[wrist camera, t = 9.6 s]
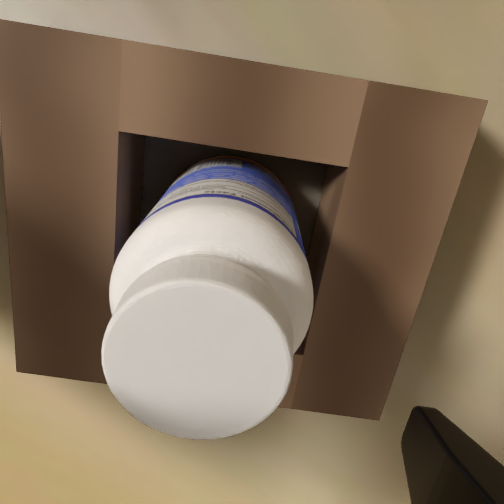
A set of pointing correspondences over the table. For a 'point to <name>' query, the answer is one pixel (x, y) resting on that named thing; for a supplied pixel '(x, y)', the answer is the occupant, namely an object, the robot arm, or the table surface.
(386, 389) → the walnut box
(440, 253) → the table surface
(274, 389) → the pill bottle
